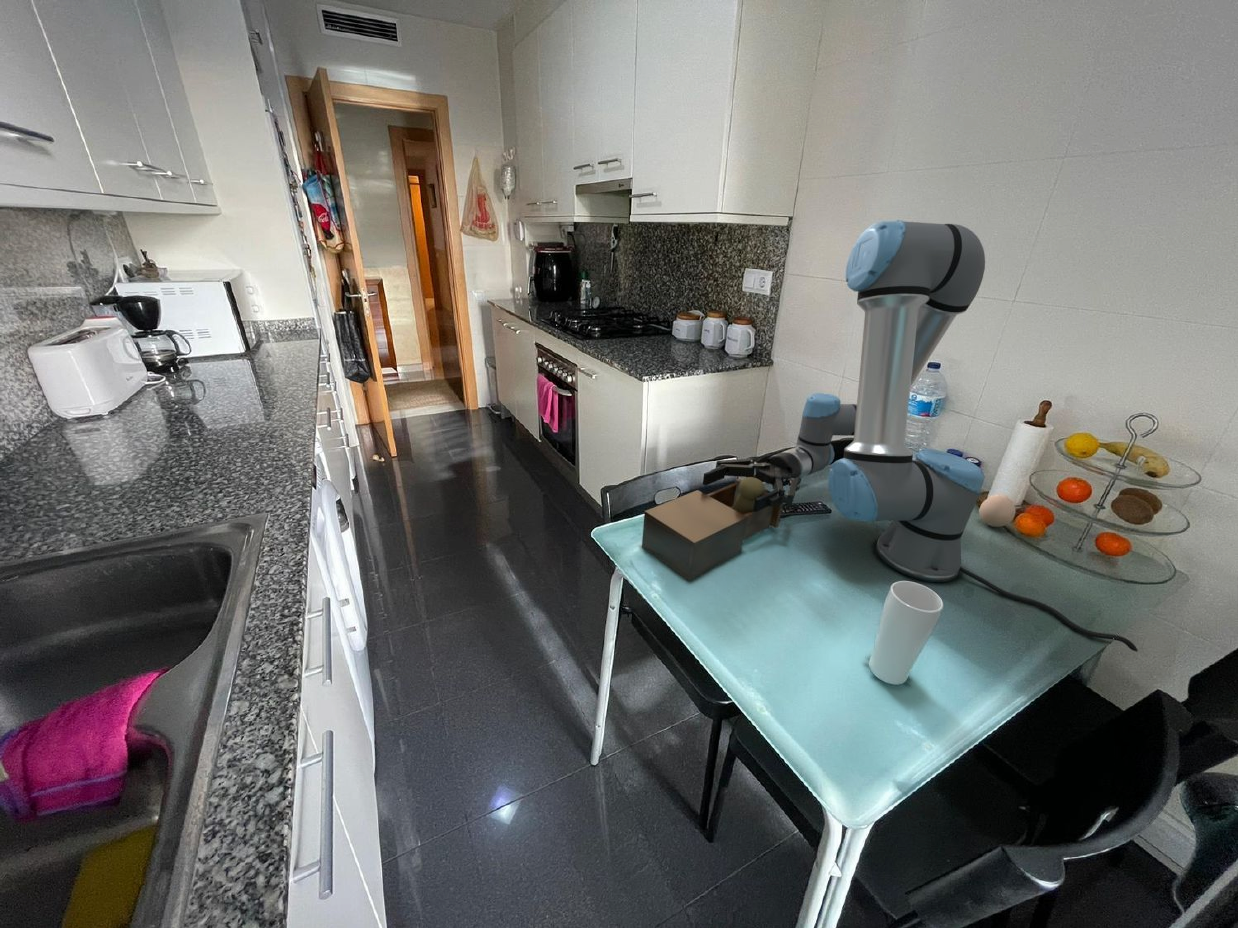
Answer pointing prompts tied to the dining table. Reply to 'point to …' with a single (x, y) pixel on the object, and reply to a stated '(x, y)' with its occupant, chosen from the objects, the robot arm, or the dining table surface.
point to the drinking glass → (904, 630)
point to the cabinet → (693, 533)
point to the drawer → (755, 519)
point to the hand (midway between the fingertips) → (728, 492)
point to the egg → (997, 510)
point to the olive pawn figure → (748, 494)
